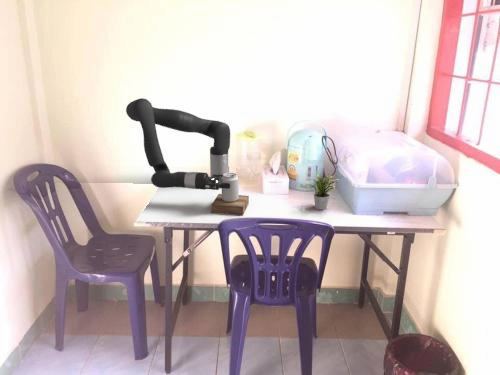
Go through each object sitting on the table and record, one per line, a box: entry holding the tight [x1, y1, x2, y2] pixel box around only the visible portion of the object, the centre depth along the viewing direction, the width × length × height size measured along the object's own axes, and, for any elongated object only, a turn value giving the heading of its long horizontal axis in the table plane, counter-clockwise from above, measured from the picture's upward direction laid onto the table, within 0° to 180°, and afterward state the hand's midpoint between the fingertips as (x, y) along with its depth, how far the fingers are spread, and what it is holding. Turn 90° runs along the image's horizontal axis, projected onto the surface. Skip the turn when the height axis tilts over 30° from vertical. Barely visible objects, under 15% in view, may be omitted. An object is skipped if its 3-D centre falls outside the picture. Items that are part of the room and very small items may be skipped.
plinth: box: [210, 193, 250, 216], centre depth 195 cm, size 14×14×4 cm
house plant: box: [308, 173, 340, 211], centre depth 194 cm, size 14×14×16 cm
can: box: [221, 172, 240, 202], centre depth 192 cm, size 8×8×12 cm
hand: (232, 182), depth 191 cm, fingers open, 8 cm apart
